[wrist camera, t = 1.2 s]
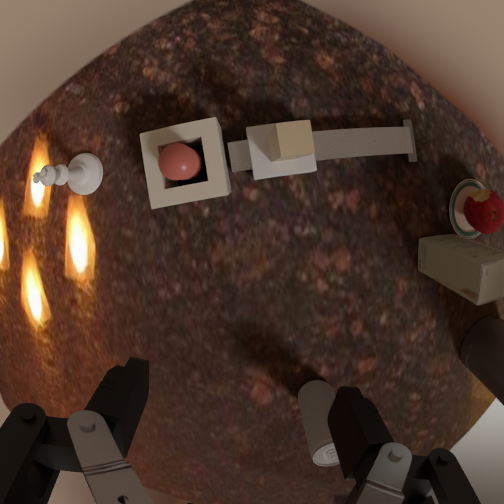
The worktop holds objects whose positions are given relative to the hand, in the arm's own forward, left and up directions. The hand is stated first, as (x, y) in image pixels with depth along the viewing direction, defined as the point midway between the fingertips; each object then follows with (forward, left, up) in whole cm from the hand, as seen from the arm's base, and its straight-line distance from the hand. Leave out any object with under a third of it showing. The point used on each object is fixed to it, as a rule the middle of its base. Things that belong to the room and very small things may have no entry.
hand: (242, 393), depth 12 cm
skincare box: (-24, +4, -23) cm, 34 cm away
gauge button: (+4, -10, -20) cm, 22 cm away
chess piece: (+17, -12, -23) cm, 31 cm away
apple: (-30, -1, -23) cm, 38 cm away
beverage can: (-6, +21, -23) cm, 32 cm away
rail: (-10, -10, -23) cm, 27 cm away
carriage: (-5, -10, -23) cm, 26 cm away
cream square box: (+4, -10, -23) cm, 26 cm away
